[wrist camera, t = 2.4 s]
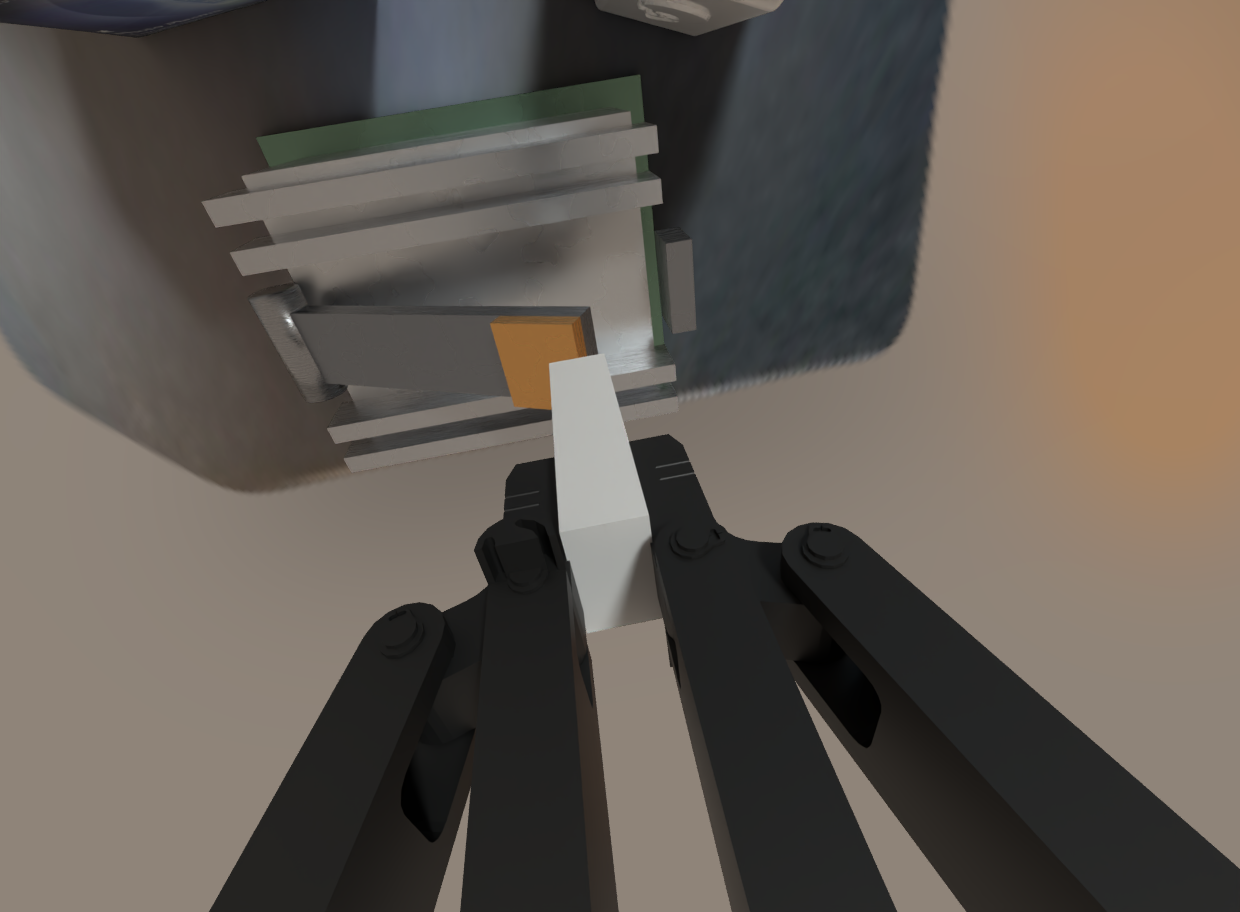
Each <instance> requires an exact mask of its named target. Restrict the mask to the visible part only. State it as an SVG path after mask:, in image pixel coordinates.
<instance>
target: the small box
mask: <svg viewBox="0 0 1240 912" xmlns="http://www.w3.org/2000/svg"><path fill="white" fill-rule="evenodd" d="M264 1H267V0H0V22H1V23H11V24H20V25H29V26H39V27H48V28H57V29H67V30H76V31H86V32H94V33H102V34H111V35H120V36H128V37H142V36H147V35H150V34H153V33H157V32H160V31H163V30H167V29H170V28H174V27H177V26H180V25H184V24H187V23H190V22H194V21H197V20H201V19H204V18H208V17H211V16H215V15H218V14H222V13H225V12H229V11H232V10H236V9H239V8H243V7H246V6H250V5H253V4H257V3H260V2H264Z"/></svg>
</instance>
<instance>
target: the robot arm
mask: <svg viewBox="0 0 1240 912" xmlns="http://www.w3.org/2000/svg"><path fill="white" fill-rule="evenodd" d="M549 372H550V389H551V405H552V421H553V438H554V453H555V457H553V458H548V459H543V460H537V461H532V462H527V463H522V464H517V465H515V467H514V469H513V470H512V472H511V473H510V475H509V476H508V478H507V480H506V489H505V498H506V499H505V503H504V511H505V512H504V518H503V519H502V520H500V521H499V522H497V523H495V524H494V525H492V526H491V527H489V528H488V529H487V530H486V531H485V532H484V533H483V534H482V535H481V536H480V538H479V539H478V541H477V544H476V546H475V549H474V552H475V554H476V557H477V559H478V561H479V563H480V566H481V568H482V571H483V573H484V575H485V578H486V580H487V582H488V586H487V587H486V588H485V589H483V590H482V591H481V592H480V593H479V594H477V595H476V596H474V597H472V598H471V599H469V600H467V601H465V602H463V603H461V604H459V605H457V606H455V607H452V608H450V609H448V610H446V611H444V612H441V611H440V610H438V609H437V608H436V607H435V606H433V605H431V604H426V603H420V602H419V603H412V604H406V605H403V606H401V607H399V608H396V609H394V610H392V611H390V612H388V613H387V614H385V615H384V616H383V617H382V618H380V619H379V620H378V621H376V622H375V623H374V624H373V626H372V627H371V628H370V629H369V631H368V632H367V633H366V635H365V636H364V638H363V639H362V641H361V643H360V644H359V646H358V648H357V650H356V652H355V653H354V655H353V657H352V659H351V660H350V662H349V664H348V666H347V668H346V669H345V671H344V673H343V675H342V676H341V679H340V680H339V682H338V684H337V685H336V687H335V689H334V691H333V692H332V694H331V696H330V698H329V700H328V701H327V703H326V705H325V707H324V708H323V710H322V712H321V714H320V716H319V718H318V719H317V721H316V723H315V725H314V726H313V728H312V730H311V732H310V734H309V735H308V737H307V739H306V741H305V742H304V744H303V746H302V748H301V749H300V751H299V753H298V755H297V756H296V758H295V760H294V762H293V764H292V765H291V767H290V769H289V771H288V772H287V774H286V776H285V778H284V780H283V781H282V783H281V785H280V787H279V788H278V790H277V792H276V794H275V796H274V797H273V799H272V801H271V803H270V804H269V806H268V808H267V810H266V812H265V814H264V815H263V817H262V819H261V820H260V822H259V824H258V826H257V828H256V829H255V831H254V833H253V835H252V837H251V838H250V840H249V842H248V844H247V845H246V847H245V849H244V851H243V853H242V854H241V856H240V858H239V860H238V861H237V863H236V865H235V867H234V868H233V870H232V872H231V874H230V876H229V877H228V879H227V881H226V883H225V884H224V886H223V888H222V890H221V891H220V894H219V895H218V897H217V899H216V900H215V902H214V904H213V906H212V907H211V909H210V911H209V912H434V909H435V905H436V902H437V898H438V895H439V892H440V888H441V885H442V882H443V878H444V875H445V872H446V868H447V865H448V862H449V858H450V855H451V851H452V848H453V845H454V841H455V838H456V834H457V831H458V828H459V824H460V821H461V817H462V814H463V811H464V808H465V804H466V801H467V797H468V794H469V791H470V787H471V793H470V804H469V816H468V828H467V840H466V851H465V863H464V875H463V887H462V898H461V910H460V912H619V911H618V902H617V894H616V893H617V892H616V883H615V874H614V864H613V855H612V846H611V836H610V827H609V818H608V809H607V800H606V790H605V782H604V771H603V762H602V753H601V743H600V734H599V725H598V715H597V707H596V698H595V687H594V680H593V679H594V678H593V669H592V660H591V656H590V652H589V649H588V645H587V640H586V630H587V633H591V632H596V631H601V630H606V629H611V628H615V627H621V626H626V625H631V624H636V623H640V622H646V621H650V620H655V619H660V618H663V620H664V624H665V629H666V637H667V645H668V653H669V660H670V667H673V669H674V674H675V678H676V682H677V686H678V690H679V694H680V698H681V703H682V707H683V711H684V714H685V719H686V723H687V727H688V731H689V736H690V740H691V744H692V748H693V752H694V756H695V761H696V765H697V769H698V773H699V777H700V781H701V785H702V790H703V793H704V798H705V802H706V806H707V810H708V814H709V818H710V822H711V827H712V831H713V835H714V839H715V843H716V848H717V852H718V856H719V859H720V864H721V868H722V872H723V876H724V881H725V885H726V889H727V893H728V897H729V901H730V905H731V910H732V912H897V910H896V908H895V906H894V904H893V901H892V899H891V897H890V895H889V892H888V890H887V888H886V886H885V884H884V881H883V879H882V877H881V874H880V872H879V870H878V868H877V865H876V863H875V861H874V859H873V856H872V854H871V852H870V849H869V847H868V845H867V843H866V841H865V838H864V836H863V834H862V831H861V829H860V827H859V825H858V822H857V820H856V818H855V816H854V813H853V811H852V809H851V807H850V805H849V802H848V800H847V798H846V795H845V793H844V791H843V788H842V786H841V784H840V782H839V779H838V777H837V775H836V773H835V770H834V768H833V766H832V764H831V761H830V759H829V757H828V755H827V752H826V750H825V748H824V746H823V743H822V741H821V739H820V737H819V734H818V732H817V730H816V728H815V725H814V723H813V721H812V718H811V716H810V714H809V712H808V709H807V707H806V705H805V703H804V700H803V698H802V696H801V694H800V691H799V689H798V687H797V685H796V682H797V684H798V685H799V687H800V688H801V689H802V691H803V692H804V693H805V695H806V696H807V697H808V699H809V700H810V701H811V703H812V704H813V706H814V707H815V708H816V710H817V711H818V712H819V713H820V715H821V716H822V718H823V719H824V720H825V722H826V723H827V724H828V726H829V727H830V728H831V730H832V731H833V733H834V734H835V735H836V736H837V738H838V739H839V741H840V742H841V743H842V744H843V746H844V747H845V749H846V750H847V751H848V753H849V754H850V755H851V757H852V758H853V759H854V761H855V762H856V764H857V765H858V766H859V767H860V769H861V770H862V772H863V773H864V774H865V776H866V777H867V778H868V780H869V781H870V782H871V784H872V785H873V786H874V788H875V789H876V790H877V792H878V793H879V795H880V796H881V797H882V798H883V800H884V801H885V803H886V804H887V805H888V807H889V808H890V809H891V811H892V812H893V813H894V815H895V816H896V817H897V819H898V820H899V821H900V823H901V824H902V825H903V827H904V828H905V830H906V831H907V832H908V834H909V835H910V836H911V838H912V839H913V840H914V842H915V843H916V844H917V846H918V847H919V848H920V850H921V851H922V852H923V854H924V855H925V857H926V858H927V859H928V861H929V862H930V863H931V865H932V866H933V867H934V869H935V870H936V871H937V872H938V874H939V875H940V877H941V878H942V879H943V881H944V882H945V883H946V885H947V886H948V888H949V889H950V890H951V892H952V893H953V894H954V895H955V897H956V898H957V900H958V901H959V902H960V904H961V905H962V906H963V908H964V909H965V910H966V912H1240V869H1239V868H1238V867H1237V866H1236V865H1235V864H1234V863H1232V862H1231V861H1230V860H1229V859H1228V858H1227V857H1225V856H1224V855H1223V854H1222V853H1221V852H1220V851H1219V850H1217V849H1216V848H1215V847H1214V846H1213V845H1212V844H1211V843H1209V842H1208V841H1207V840H1206V839H1205V838H1204V837H1202V836H1201V835H1200V834H1199V833H1198V832H1197V831H1196V830H1194V829H1193V828H1192V827H1191V826H1190V825H1189V824H1188V823H1186V822H1185V821H1184V820H1183V819H1182V818H1181V817H1179V816H1178V815H1177V814H1176V813H1175V812H1174V811H1173V810H1171V809H1170V808H1169V807H1168V806H1167V805H1166V804H1165V803H1164V802H1162V801H1161V800H1160V799H1159V798H1158V797H1157V796H1155V795H1154V794H1153V793H1152V792H1151V791H1150V790H1149V789H1147V788H1146V787H1145V786H1144V785H1143V784H1142V783H1140V782H1139V781H1138V780H1137V779H1136V778H1135V777H1133V776H1132V775H1131V774H1130V773H1129V772H1128V771H1127V770H1126V769H1124V768H1123V767H1122V766H1121V765H1120V764H1119V763H1118V762H1116V761H1115V760H1114V759H1113V758H1112V757H1111V756H1110V755H1108V754H1107V753H1106V752H1105V751H1104V750H1103V749H1102V748H1100V747H1099V746H1098V745H1097V744H1095V742H1093V741H1092V740H1091V739H1090V738H1089V737H1088V736H1087V735H1085V734H1084V733H1083V732H1082V731H1081V730H1080V729H1079V728H1077V727H1076V726H1075V725H1074V724H1073V723H1072V722H1071V721H1069V720H1068V719H1067V718H1066V717H1065V716H1064V715H1062V714H1061V713H1060V712H1059V711H1058V710H1056V708H1054V707H1053V706H1052V705H1051V704H1050V703H1049V702H1048V701H1046V700H1045V699H1044V698H1043V697H1042V696H1040V695H1039V694H1038V693H1037V692H1036V691H1035V690H1034V689H1033V688H1031V687H1030V686H1029V685H1028V684H1027V683H1026V682H1025V681H1023V680H1022V679H1021V678H1020V677H1019V676H1018V675H1016V674H1015V673H1014V672H1013V671H1012V670H1011V669H1010V668H1009V667H1007V666H1006V665H1005V664H1004V663H1003V662H1002V661H1000V660H999V659H998V658H997V657H996V656H995V655H993V654H992V653H991V652H990V651H989V650H988V649H987V648H986V647H984V646H983V645H982V644H981V643H980V642H978V641H977V640H976V639H975V638H974V637H973V636H972V635H971V634H969V633H968V632H967V631H966V630H965V629H964V628H963V627H961V626H960V625H959V624H958V623H957V622H956V621H954V620H953V619H952V618H951V617H950V616H949V615H948V614H946V613H945V612H944V611H943V610H942V609H941V608H940V607H938V606H937V605H936V604H935V603H934V602H933V601H932V600H930V599H929V598H928V597H927V596H926V595H925V594H923V593H922V592H921V591H920V590H919V589H918V588H917V587H915V586H914V585H913V584H912V583H911V582H910V581H909V580H907V579H906V578H905V577H904V576H903V575H902V574H901V573H899V572H898V571H897V570H896V569H895V568H894V567H893V566H891V565H890V564H889V563H888V562H887V561H886V560H885V559H883V558H882V557H881V556H880V555H879V554H878V553H876V552H875V551H874V550H873V549H872V548H871V547H869V546H868V545H867V544H866V543H865V542H864V541H863V540H862V539H860V538H859V537H858V536H856V535H855V534H853V533H852V532H850V531H849V530H847V529H845V528H843V527H839V526H836V525H833V524H829V523H808V524H804V525H800V526H797V527H796V528H794V529H793V530H791V531H790V532H788V533H787V535H786V537H785V538H784V540H783V542H782V543H771V542H770V543H769V542H757V541H749V540H744V539H741V538H738V537H735V536H733V535H732V534H730V533H728V532H727V531H726V529H725V528H724V527H723V526H721V525H719V524H718V523H717V522H716V520H715V519H714V517H713V515H712V512H711V510H710V508H709V505H708V503H707V500H706V498H705V496H704V493H703V491H702V489H701V486H700V484H699V482H698V479H697V477H696V475H695V474H694V470H693V468H692V466H691V463H690V462H689V458H688V456H687V454H686V452H685V449H684V447H683V445H682V444H681V443H680V442H678V441H677V440H675V439H674V438H673V437H672V436H670V435H669V434H667V435H661V436H656V437H651V438H646V439H641V440H635V441H630V442H629V441H628V438H627V434H626V430H625V427H624V423H623V419H622V416H621V412H620V409H619V405H618V401H617V398H616V394H615V390H614V387H613V383H612V380H611V376H610V372H609V369H608V365H607V361H606V358H605V354H604V353H603V354H597V355H592V356H586V357H581V358H575V359H570V360H564V361H559V362H553V363H549ZM585 627H586V629H585ZM795 681H796V682H795Z"/></svg>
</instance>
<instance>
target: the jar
mask: <svg viewBox="0 0 1240 912" xmlns="http://www.w3.org/2000/svg"><path fill="white" fill-rule="evenodd" d="M783 1H784V0H595V4H596V6H597V8H598V9H599V10H601V11H605V12H609V13H612V14H616V15H620V16H623V17H627V18H630V19H634V20H638V21H641V22H645V23H649V24H652V25H656V26H660V27H663V28H667V29H670V30H674V31H678V32H681V33H685V34H689V35H692V36H698V35H701V34H705V33H708V32H711V31H714V30H717V29H720V28H723V27H726V26H729V25H732V24H736V23H739V22H742V21H745V20H748V19H751V18H754V17H757V16H760V15H764V14H767V13H770V12H773V11H775V10H776V9H777V8H778V7H779V6H780V4H781V3H782V2H783Z"/></svg>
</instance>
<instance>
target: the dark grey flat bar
mask: <svg viewBox="0 0 1240 912" xmlns="http://www.w3.org/2000/svg"><path fill="white" fill-rule="evenodd" d="M248 300H249V302H250V304H251V306H252V307H253V309H254V311H255V313H256V315H257V316H258V318H259V320H260V322H261V323H262V325H263V327H264V329H265V331H266V332H267V334H268V336H269V338H270V339H271V341H272V343H273V345H274V347H275V348H276V350H277V352H278V354H279V356H280V357H281V359H282V361H283V363H284V364H285V366H286V368H287V370H288V372H289V373H290V375H291V377H292V379H293V380H294V382H295V384H296V386H297V388H298V389H299V391H300V393H301V395H302V396H303V398H304V400H305V401H306V402H308V403H318V402H323V401H326V400H329V399H332V398H334V397H337V396H338V395H340V394H342V393H343V392H344V391H345V390H346V389H347V388H348V385H355V386H369V387H382V388H396V389H410V390H423V391H437V392H450V393H464V394H477V395H491V396H504V397H512V401H513V404H514V407H523V408H535V409H547V410H552V405H551V389H550V372H549V363H553V362H559V361H564V360H570V359H575V358H581V357H586V356H592V355H597V354H598V350H597V344H596V338H595V332H594V326H593V320H592V314H591V308H590V306H309V305H308V303H307V301H306V299H305V297H304V295H303V293H302V291H301V289H300V287H299V285H298V284H283V285H278V286H274V287H270V288H267V289H264V290H261V291H258V292H256V293H254V294H252V295H250V296H249V297H248Z"/></svg>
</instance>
